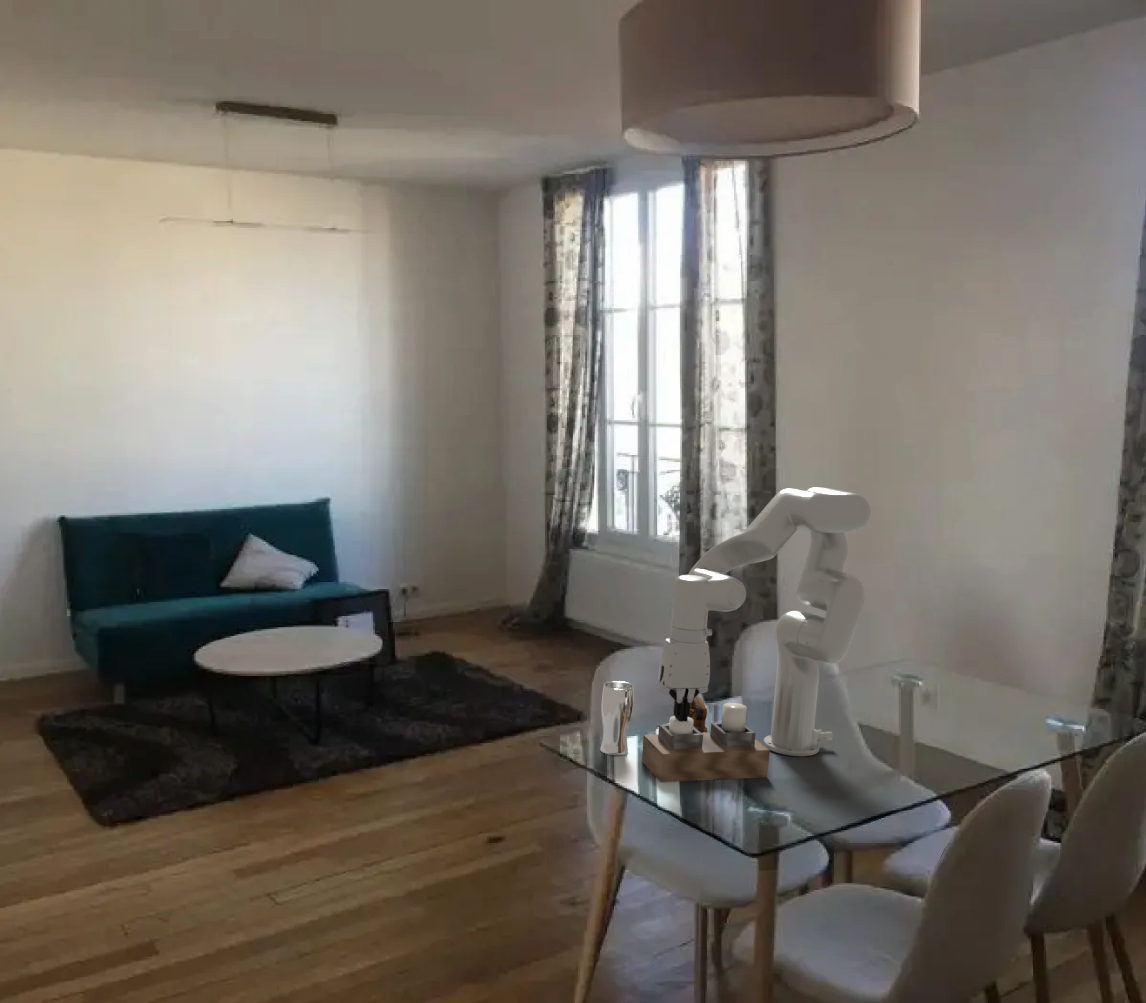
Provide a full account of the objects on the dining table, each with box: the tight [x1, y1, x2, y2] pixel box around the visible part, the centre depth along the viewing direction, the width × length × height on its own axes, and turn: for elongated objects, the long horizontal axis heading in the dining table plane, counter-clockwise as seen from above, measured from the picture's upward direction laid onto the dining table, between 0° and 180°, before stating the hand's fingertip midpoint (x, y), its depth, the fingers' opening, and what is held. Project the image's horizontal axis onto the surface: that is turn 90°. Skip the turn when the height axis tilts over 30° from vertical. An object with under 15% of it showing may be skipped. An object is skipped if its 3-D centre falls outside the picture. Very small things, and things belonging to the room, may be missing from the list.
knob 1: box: [669, 715, 694, 734], centre depth 250 cm, size 5×5×5 cm
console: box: [641, 722, 771, 783], centre depth 253 cm, size 24×12×9 cm, turn 106°
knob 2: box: [721, 702, 748, 732], centre depth 254 cm, size 5×5×5 cm
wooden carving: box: [688, 696, 708, 733], centre depth 272 cm, size 16×5×10 cm, turn 18°
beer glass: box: [600, 680, 634, 757], centre depth 260 cm, size 7×7×15 cm
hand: (681, 719), depth 250 cm, fingers closed
